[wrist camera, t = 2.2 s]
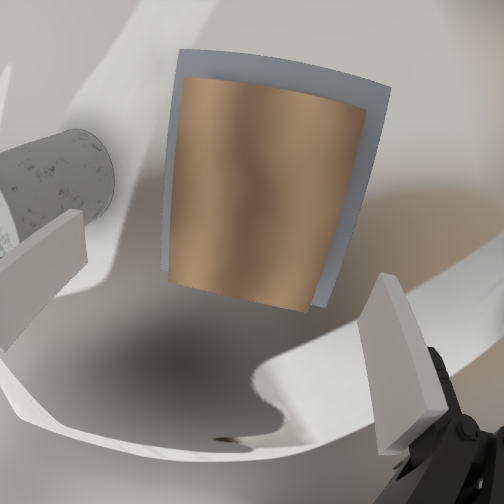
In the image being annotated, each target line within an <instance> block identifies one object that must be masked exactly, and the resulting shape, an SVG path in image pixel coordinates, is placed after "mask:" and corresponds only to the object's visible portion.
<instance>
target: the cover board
mask: <svg viewBox="0 0 504 504" xmlns="http://www.w3.org/2000/svg"><path fill="white" fill-rule="evenodd" d="M366 112H367V110H366V109H363V108H359V107H356V106H352V105H349V104H345V103H341V102H338V101H334V100H330V99H326V98H322V97H318V96H313V95H309V94H304V93H300V92H295V91H290V90H285V89H279V88H274V87H268V86H262V85H255V84H248V83H241V82H233V81H225V80H215V79H204V78H191V77H184V84H183V91H182V98H181V105H180V113H179V121H178V130H177V139H176V149H175V159H174V171H173V183H172V198H171V214H170V235H169V270H168V276H169V278H168V281H169V282H172V283H176V284H180V285H184V286H188V287H192V288H197V289H200V290H204V291H209V292H213V293H217V294H221V295H226V296H231V297H235V298H239V299H244V300H248V301H253V302H257V303H262V304H267V305H271V306H276V307H281V308H285V309H290V310H295V311H301V312H306V313H308V311H309V308H310V305H311V302H312V299H313V297H314V294H315V291H316V288H317V285H318V282H319V279H320V276H321V273H322V270H323V267H324V264H325V261H326V258H327V255H328V252H329V248H330V245H331V242H332V239H333V236H334V232H335V229H336V226H337V222H338V219H339V216H340V212H341V209H342V205H343V202H344V198H345V195H346V191H347V188H348V184H349V180H350V177H351V173H352V169H353V165H354V162H355V158H356V154H357V150H358V146H359V142H360V137H361V133H362V129H363V125H364V120H365V116H366Z"/></svg>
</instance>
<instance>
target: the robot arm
mask: <svg viewBox="0 0 504 504" xmlns="http://www.w3.org/2000/svg"><path fill="white" fill-rule="evenodd" d="M87 263H88V259H87V251H86V242H85V233H84V222H83V211H81V210H76V209H71V208H70V209H69V210H67V211H66V212H64V213H63V214H61V215H60V216H58V217H57V218H55V219H54V220H52V221H51V222H49V223H48V224H46V225H45V226H43V227H42V228H41V229H39V230H38V231H36V232H35V233H34V234H32V235H31V236H29V237H28V238H27V239H25V240H24V241H23V242H21V243H20V244H19V245H17V246H16V247H15V248H13V249H12V250H11V251H9V252H8V253H7V254H5V255H4V256H2V257H0V350H1V351H2V352H4V353H5V352H6V351H7V350H8V349H9V347H10V346H11V345H12V344H13V342H14V341H15V340H16V339H17V338H18V337H19V335H20V334H21V333H22V332H23V331H24V329H25V328H26V327H27V326H28V325H29V324H30V323H31V321H32V320H33V319H34V318H35V317H36V316H37V315H38V314H39V313H40V311H41V310H42V309H43V308H44V307H45V306H46V305H47V304H48V303H49V302H50V301H51V300H52V298H53V297H54V296H55V295H56V294H57V293H58V292H59V291H60V290H61V289H62V288H63V287H64V286H65V285H66V284H67V283H68V282H69V281H70V280H71V279H72V278H73V277H74V276H75V275H76V274H77V273H78V272H79V271H80V270H81V269H82V268H83V267H84V266H85V265H86V264H87ZM357 323H358V328H359V333H360V338H361V343H362V348H363V353H364V358H365V364H366V369H367V375H368V381H369V387H370V393H371V400H372V406H373V413H374V420H375V428H376V436H377V445H378V454H379V455H398V454H400V453H401V452H402V451H403V450H405V449H406V448H407V447H408V446H409V452H410V455H409V456H408V457H406V458H405V459H404V460H402V461H401V462H400V463H398V464H397V465H396V466H395V467H394V468H393V469H394V470H396V469H397V468H399V469H398V470H397V472H396V474H395V475H394V476H393V478H392V479H391V480H390V482H389V483H388V485H387V486H386V487H385V489H384V490H383V491H382V493H381V494H380V495H379V497H378V498H377V499H376V500H375V502H374V503H373V504H504V426H503V427H501V428H500V429H498V430H497V431H496V432H495V433H494V434H492V433H488V432H484V431H480V429H479V426H478V425H477V423H476V421H475V420H474V419H473V418H472V417H470V416H468V415H466V414H462V412H461V409H460V406H459V403H458V400H457V397H456V395H455V392H454V389H453V386H452V383H451V381H450V380H449V375H448V372H447V371H446V367H445V365H444V362H443V360H442V357H441V356H440V355H439V354H438V352H437V351H436V350H435V349H434V347H427V346H426V343H425V341H424V338H423V336H422V333H421V331H420V328H419V326H418V324H417V321H416V319H415V316H414V314H413V312H412V310H411V307H410V305H409V303H408V300H407V298H406V296H405V294H404V292H403V290H402V287H401V285H400V283H399V281H398V279H397V277H396V276H395V275H391V274H386V273H382V272H380V274H379V276H378V278H377V281H376V283H375V285H374V288H373V290H372V292H371V294H370V296H369V299H368V301H367V303H366V305H365V307H364V309H363V312H362V314H361V316H360V318H359V320H358V322H357ZM482 480H483V483H482V488H480V489H479V482H481V481H482Z"/></svg>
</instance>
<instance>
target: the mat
mask: <svg viewBox="0 0 504 504" xmlns="http://www.w3.org/2000/svg"><path fill="white" fill-rule="evenodd" d="M184 77H191V78H204V79H215V80H225V81H233V82H241V83H248V84H255V85H262V86H268V87H274V88H279V89H285V90H290V91H295V92H300V93H304V94H309V95H313V96H318V97H322V98H326V99H330V100H334V101H338V102H341V103H345V104H349V105H352V106H356V107H359V108H363V109H366V110H367V112H366V116H365V120H364V125H363V129H362V133H361V137H360V142H359V146H358V150H357V154H356V158H355V162H354V165H353V169H352V173H351V177H350V180H349V184H348V188H347V191H346V195H345V198H344V202H343V205H342V209H341V212H340V216H339V219H338V222H337V226H336V229H335V232H334V236H333V239H332V242H331V245H330V248H329V252H328V255H327V258H326V261H325V264H324V267H323V270H322V273H321V276H320V279H319V282H318V285H317V288H316V291H315V294H314V297H313V299H312V302H311V305H315V306H320V307H326V306H327V303H328V300H329V298H330V295H331V293H332V290H333V287H334V284H335V282H336V279H337V276H338V274H339V271H340V268H341V265H342V263H343V260H344V257H345V254H346V251H347V248H348V245H349V242H350V239H351V236H352V233H353V230H354V227H355V224H356V221H357V218H358V214H359V211H360V208H361V205H362V201H363V198H364V195H365V192H366V188H367V185H368V181H369V178H370V174H371V170H372V167H373V163H374V159H375V156H376V152H377V148H378V144H379V140H380V136H381V132H382V128H383V124H384V120H385V115H386V111H387V106H388V102H389V97H390V92H391V87H389V86H386V85H383V84H380V83H377V82H374V81H371V80H368V79H364V78H361V77H357V76H354V75H351V74H347V73H343V72H340V71H336V70H331V69H328V68H323V67H319V66H315V65H310V64H306V63H300V62H296V61H290V60H285V59H279V58H273V57H267V56H260V55H252V54H244V53H234V52H224V51H211V50H192V49H180V50H179V56H178V62H177V68H176V74H175V81H174V88H173V95H172V103H171V111H170V120H169V129H168V139H167V149H166V161H165V174H164V190H163V208H162V209H163V210H162V235H161V236H162V238H161V271H163V272H167V273H168V270H169V235H170V214H171V198H172V183H173V171H174V159H175V149H176V139H177V130H178V121H179V113H180V105H181V98H182V91H183V84H184Z"/></svg>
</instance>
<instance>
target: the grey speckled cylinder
mask: <svg viewBox="0 0 504 504" xmlns="http://www.w3.org/2000/svg"><path fill="white" fill-rule="evenodd" d="M113 192H114V172H113V167H112V163H111V160H110V157H109V155H108V153H107V151H106V149H105V148H104V146H103V145H102V144H101V142H100V141H99V140H98V139H97V138H96V137H94V136H93V135H92V134H90V133H88V132H86V131H84V130H78V129H72V130H67V131H65V132H63V133H59V134H56V135H52V136H49V137H46V138H42V139H39V140H36V141H33V142H30V143H27V144H24V145H21V146H18V147H15V148H12V149H9V150H7V151H4V152H1V153H0V257H2V256H4V255H5V254H7V253H8V252H9V251H11V250H12V249H13V248H15V247H16V246H17V245H19V244H20V243H21V242H23V241H24V240H25V239H27V238H28V237H29V236H31V235H32V234H34V233H35V232H36V231H38V230H39V229H41V228H42V227H43V226H45V225H46V224H48V223H49V222H51V221H52V220H54V219H55V218H57V217H58V216H60V215H61V214H63V213H64V212H66V211H67V210H69V209H70V208H71V209H76V210H81V211H83V222H84V226H86V225H87V224H88V223H90V222H91V221H93V220H95V219H96V218H98V217H100V216H101V215H102V214H103V213H104V212H105V211H106V210H107V208H108V206H109V204H110V202H111V199H112V196H113Z"/></svg>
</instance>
